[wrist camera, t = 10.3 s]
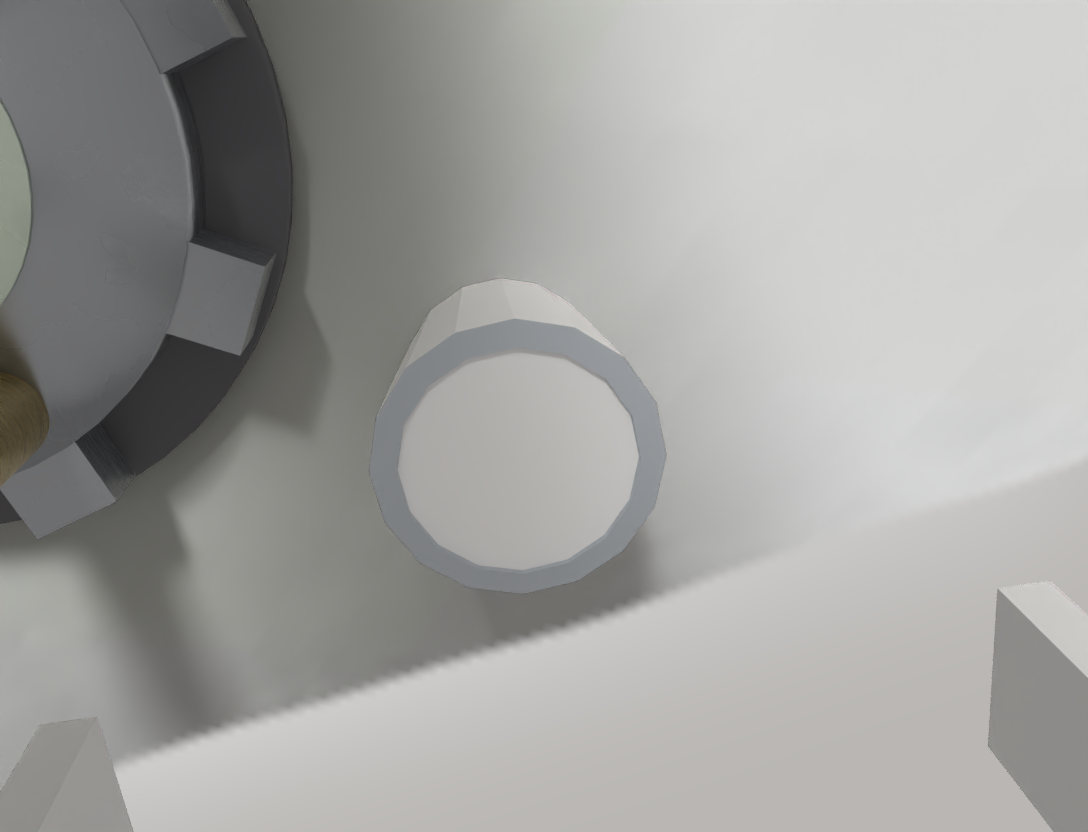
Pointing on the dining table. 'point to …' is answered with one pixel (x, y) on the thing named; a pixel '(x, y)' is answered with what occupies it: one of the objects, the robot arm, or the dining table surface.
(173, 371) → the sprocket base
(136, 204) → the sprocket
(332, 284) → the dining table surface
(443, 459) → the shot glass
